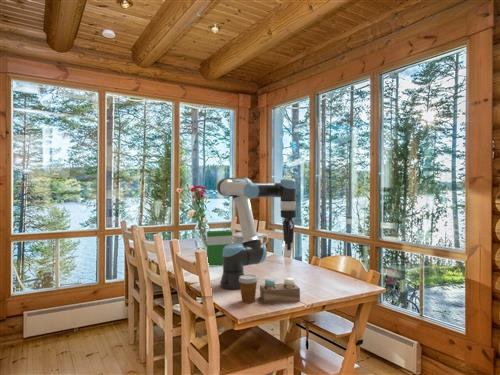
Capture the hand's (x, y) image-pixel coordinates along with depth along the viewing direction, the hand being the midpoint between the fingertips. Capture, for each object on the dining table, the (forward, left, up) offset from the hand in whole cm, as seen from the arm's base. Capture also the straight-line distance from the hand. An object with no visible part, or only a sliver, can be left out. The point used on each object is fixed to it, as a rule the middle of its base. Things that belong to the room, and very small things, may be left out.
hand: (288, 256), depth 173 cm
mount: (0, -5, -21) cm, 22 cm away
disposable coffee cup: (0, -21, -21) cm, 30 cm away
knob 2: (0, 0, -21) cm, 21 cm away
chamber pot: (-112, -1, -21) cm, 114 cm away
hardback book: (-82, -28, -21) cm, 89 cm away
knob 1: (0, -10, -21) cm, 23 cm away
